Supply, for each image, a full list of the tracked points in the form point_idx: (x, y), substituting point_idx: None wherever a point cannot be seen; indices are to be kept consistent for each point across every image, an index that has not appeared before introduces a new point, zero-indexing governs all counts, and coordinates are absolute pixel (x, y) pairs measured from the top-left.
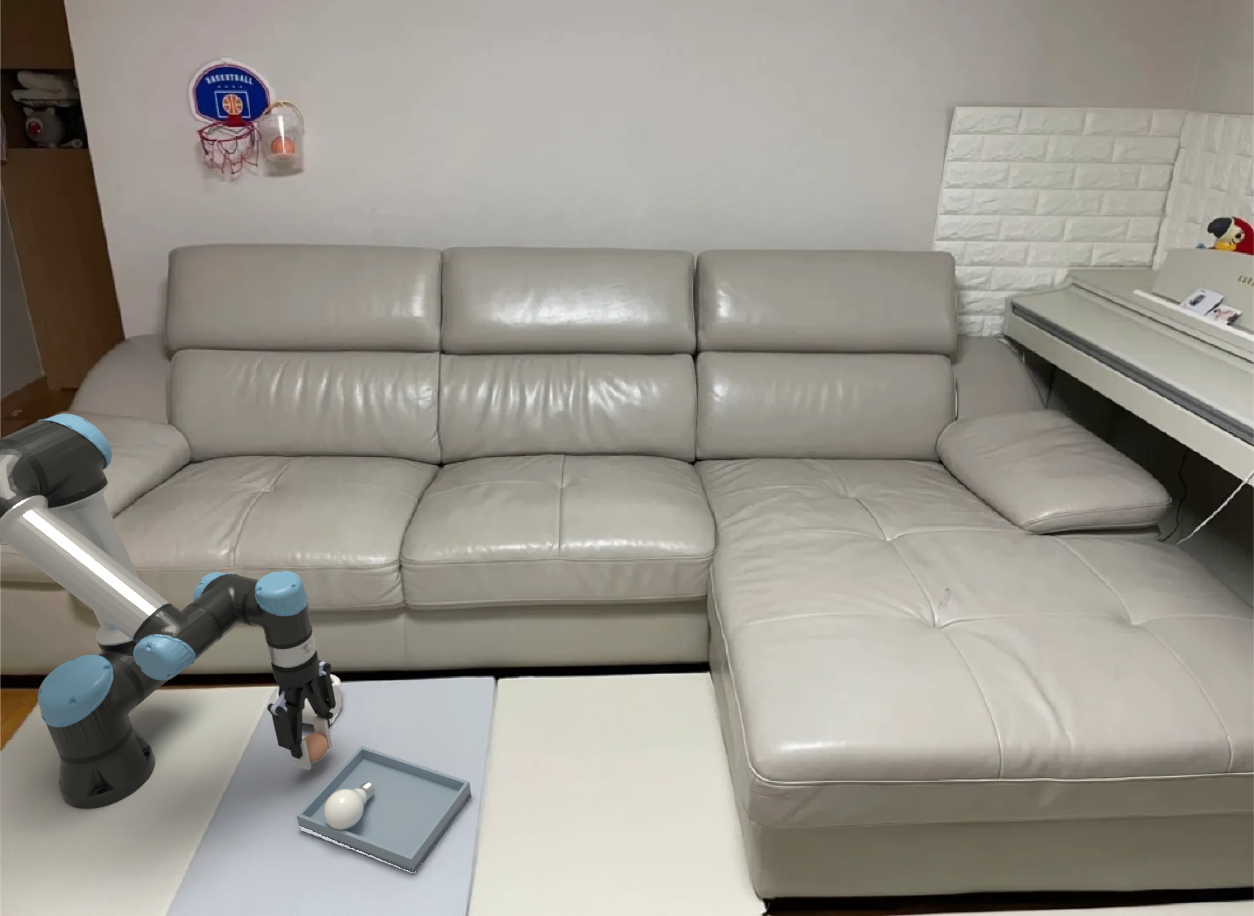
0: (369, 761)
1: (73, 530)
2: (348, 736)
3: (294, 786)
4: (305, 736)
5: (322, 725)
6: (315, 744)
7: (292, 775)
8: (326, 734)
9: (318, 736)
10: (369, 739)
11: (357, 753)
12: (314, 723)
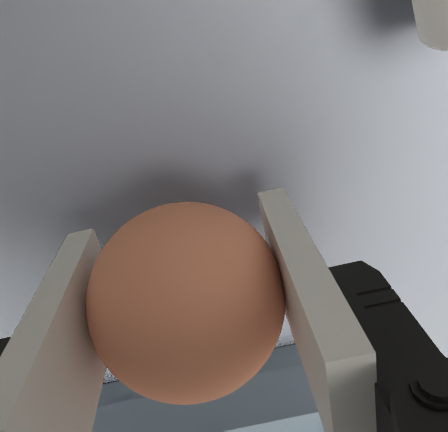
0: None
1: None
2: (416, 171)
3: (40, 226)
4: (178, 283)
5: (319, 406)
6: (171, 403)
7: (71, 157)
8: (298, 351)
9: (234, 379)
10: (437, 265)
11: (311, 424)
12: (305, 326)
